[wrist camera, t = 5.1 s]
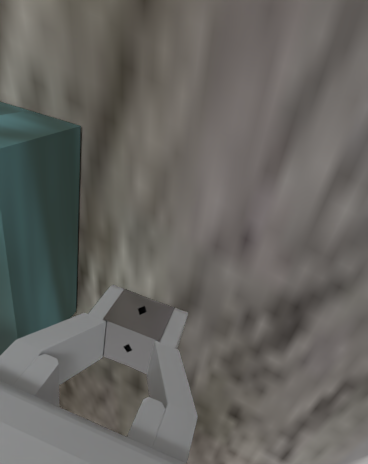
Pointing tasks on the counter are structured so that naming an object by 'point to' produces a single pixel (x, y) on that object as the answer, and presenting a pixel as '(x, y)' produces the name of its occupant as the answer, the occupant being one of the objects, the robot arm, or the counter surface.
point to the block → (37, 221)
